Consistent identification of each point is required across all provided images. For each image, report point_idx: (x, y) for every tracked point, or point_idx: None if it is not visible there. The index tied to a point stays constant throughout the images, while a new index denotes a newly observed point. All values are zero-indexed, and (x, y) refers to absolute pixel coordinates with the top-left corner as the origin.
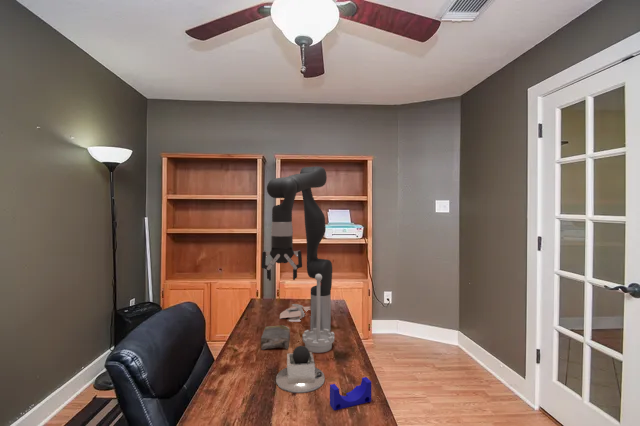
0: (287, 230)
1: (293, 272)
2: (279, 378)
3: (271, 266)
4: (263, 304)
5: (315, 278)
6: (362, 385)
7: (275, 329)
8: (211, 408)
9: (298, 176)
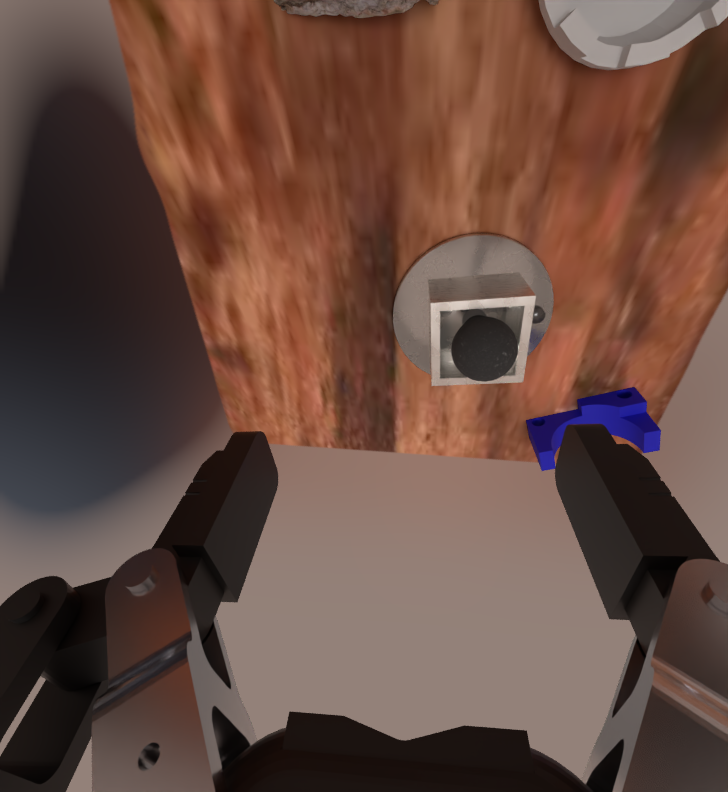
0: None
1: (595, 574)
2: (403, 324)
3: (224, 676)
4: None
5: None
6: (632, 429)
7: None
8: (265, 414)
9: None
